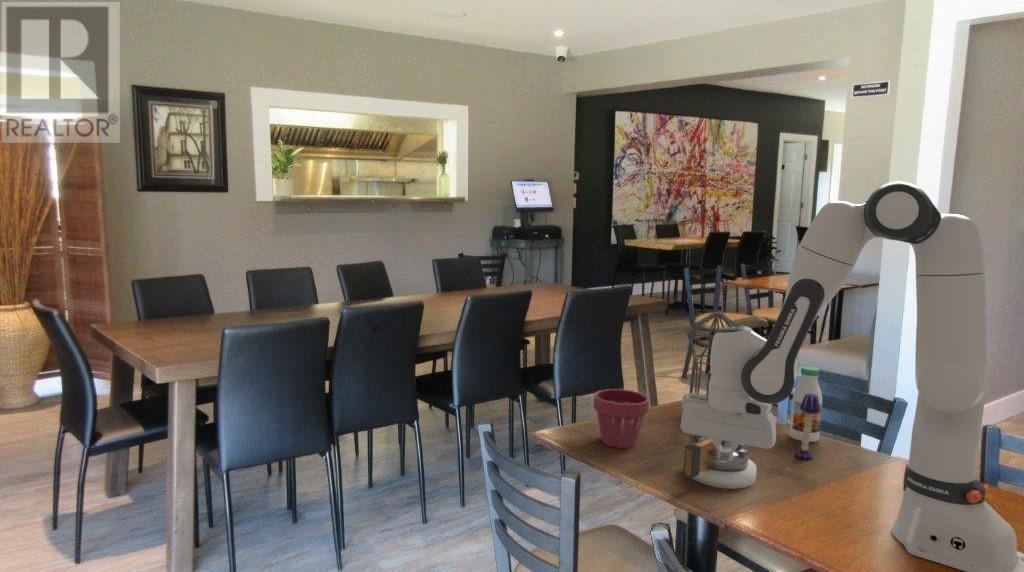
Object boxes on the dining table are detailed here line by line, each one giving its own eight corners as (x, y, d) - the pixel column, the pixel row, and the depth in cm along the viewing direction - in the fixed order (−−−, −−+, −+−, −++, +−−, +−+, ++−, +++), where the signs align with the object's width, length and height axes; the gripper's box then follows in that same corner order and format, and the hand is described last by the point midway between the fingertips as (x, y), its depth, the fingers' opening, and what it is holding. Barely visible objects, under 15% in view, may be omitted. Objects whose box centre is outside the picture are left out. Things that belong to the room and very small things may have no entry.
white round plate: (769, 478, 165) (770, 465, 165) (729, 494, 155) (730, 481, 155) (712, 457, 177) (713, 445, 177) (672, 471, 167) (672, 458, 167)
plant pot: (645, 435, 192) (647, 390, 190) (646, 454, 178) (649, 405, 177) (593, 431, 194) (595, 386, 192) (590, 449, 180) (593, 401, 179)
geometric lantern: (680, 442, 187) (687, 314, 183) (683, 426, 202) (689, 306, 198) (742, 449, 183) (750, 318, 179) (740, 432, 198) (748, 310, 194)
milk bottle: (783, 435, 196) (788, 365, 193) (803, 431, 199) (809, 363, 196) (804, 444, 189) (811, 372, 186) (825, 440, 192) (831, 370, 189)
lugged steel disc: (711, 448, 174) (713, 421, 173) (756, 462, 166) (759, 434, 165) (664, 470, 160) (666, 440, 159) (711, 487, 151) (714, 455, 150)
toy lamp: (811, 454, 181) (817, 392, 179) (817, 461, 176) (823, 398, 174) (792, 453, 182) (798, 391, 179) (798, 460, 177) (803, 396, 175)
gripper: (678, 394, 155) (675, 453, 157) (774, 410, 145) (769, 473, 147) (686, 388, 161) (683, 445, 163) (779, 402, 150) (775, 464, 152)
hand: (725, 459), depth 155 cm, fingers closed
